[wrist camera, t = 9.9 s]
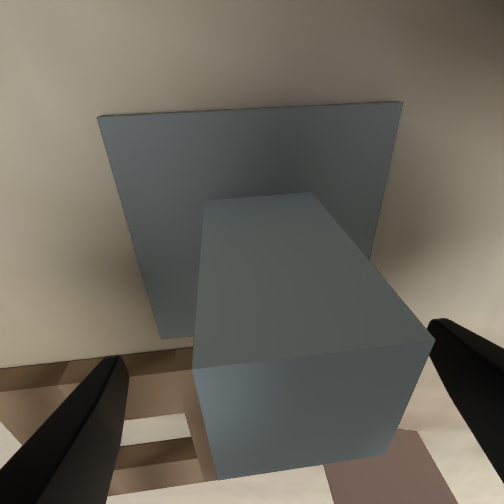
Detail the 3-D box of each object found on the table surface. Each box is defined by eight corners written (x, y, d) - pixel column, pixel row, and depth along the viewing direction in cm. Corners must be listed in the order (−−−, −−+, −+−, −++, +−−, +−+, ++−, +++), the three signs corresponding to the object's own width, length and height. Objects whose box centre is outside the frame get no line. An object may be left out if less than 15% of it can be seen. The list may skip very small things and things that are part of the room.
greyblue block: (311, 192, 12) (435, 339, 5) (305, 277, 14) (385, 454, 8) (204, 200, 12) (191, 369, 5) (215, 286, 14) (218, 480, 7)
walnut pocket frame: (244, 341, 17) (246, 362, 16) (251, 453, 25) (254, 474, 23) (-5, 369, 16) (-24, 394, 15) (81, 478, 23) (74, 501, 22)
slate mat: (396, 101, 11) (403, 102, 11) (352, 311, 17) (356, 317, 16) (101, 115, 10) (96, 117, 10) (162, 332, 16) (161, 339, 16)
